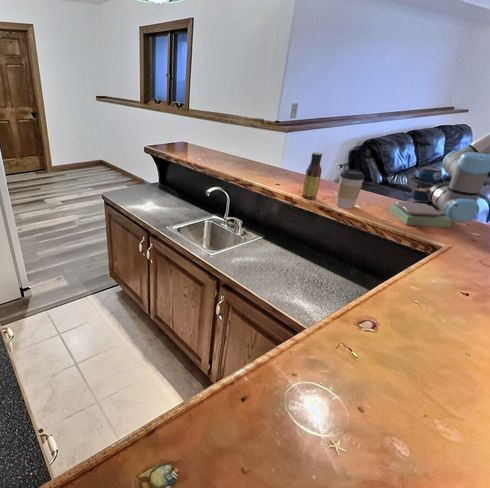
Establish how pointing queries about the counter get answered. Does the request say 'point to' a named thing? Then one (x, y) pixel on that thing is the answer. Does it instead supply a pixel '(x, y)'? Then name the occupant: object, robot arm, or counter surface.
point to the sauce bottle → (312, 177)
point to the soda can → (427, 181)
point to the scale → (420, 218)
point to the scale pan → (418, 208)
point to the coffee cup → (349, 188)
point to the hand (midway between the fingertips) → (423, 178)
